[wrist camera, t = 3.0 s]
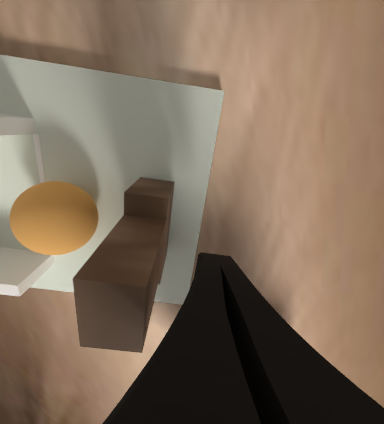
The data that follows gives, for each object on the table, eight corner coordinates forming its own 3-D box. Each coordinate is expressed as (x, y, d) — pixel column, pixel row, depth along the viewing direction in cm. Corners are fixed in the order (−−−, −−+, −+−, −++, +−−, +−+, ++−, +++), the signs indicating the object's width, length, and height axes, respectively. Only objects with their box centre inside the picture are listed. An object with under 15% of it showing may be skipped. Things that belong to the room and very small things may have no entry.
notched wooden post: (174, 181, 12) (148, 253, 5) (166, 252, 14) (140, 373, 7) (140, 176, 12) (68, 244, 5) (137, 249, 14) (82, 367, 7)
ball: (108, 178, 12) (71, 201, 9) (109, 236, 14) (79, 275, 10) (41, 169, 12) (-27, 188, 8) (50, 228, 14) (-4, 266, 10)
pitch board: (222, 93, 11) (224, 90, 10) (186, 297, 17) (186, 305, 16) (-63, 47, 10) (-83, 40, 10) (2, 275, 16) (-8, 283, 16)
